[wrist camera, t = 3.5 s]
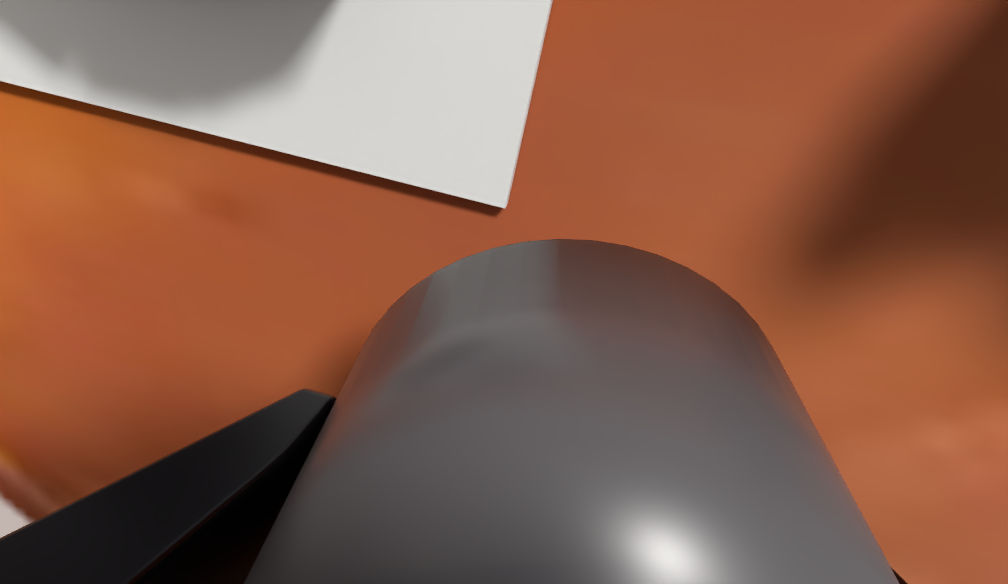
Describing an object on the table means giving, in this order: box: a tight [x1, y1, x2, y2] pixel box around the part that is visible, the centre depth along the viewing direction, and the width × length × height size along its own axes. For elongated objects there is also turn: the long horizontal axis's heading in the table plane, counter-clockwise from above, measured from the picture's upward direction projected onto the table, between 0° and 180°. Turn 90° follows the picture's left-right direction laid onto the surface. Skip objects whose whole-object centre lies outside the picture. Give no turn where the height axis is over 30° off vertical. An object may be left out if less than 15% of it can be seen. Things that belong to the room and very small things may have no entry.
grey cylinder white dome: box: [244, 239, 899, 584], centre depth 6 cm, size 6×6×4 cm
